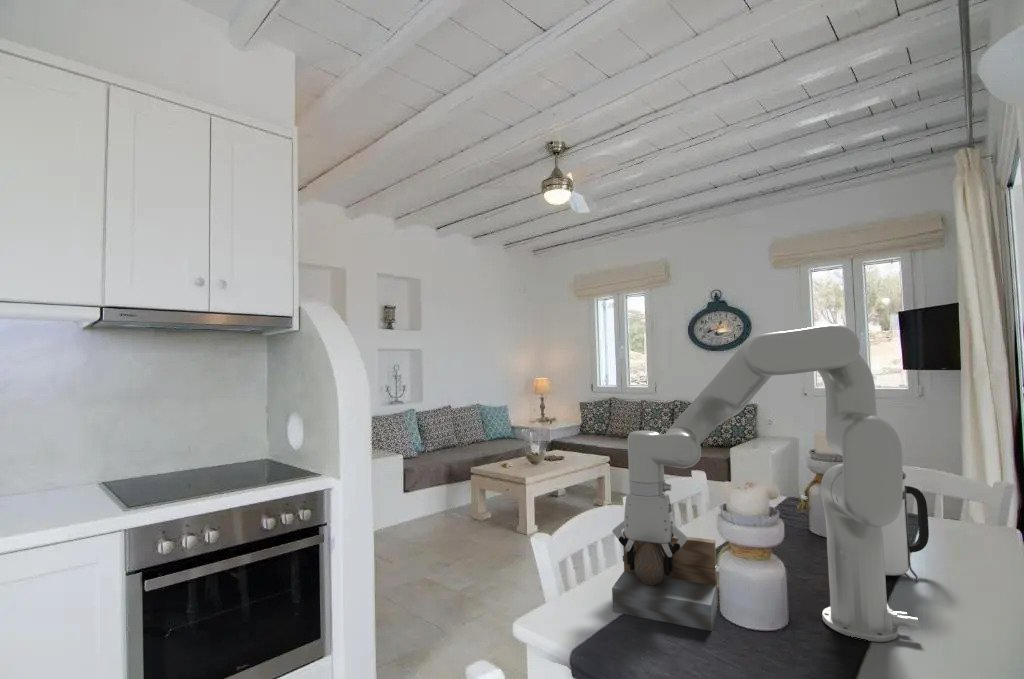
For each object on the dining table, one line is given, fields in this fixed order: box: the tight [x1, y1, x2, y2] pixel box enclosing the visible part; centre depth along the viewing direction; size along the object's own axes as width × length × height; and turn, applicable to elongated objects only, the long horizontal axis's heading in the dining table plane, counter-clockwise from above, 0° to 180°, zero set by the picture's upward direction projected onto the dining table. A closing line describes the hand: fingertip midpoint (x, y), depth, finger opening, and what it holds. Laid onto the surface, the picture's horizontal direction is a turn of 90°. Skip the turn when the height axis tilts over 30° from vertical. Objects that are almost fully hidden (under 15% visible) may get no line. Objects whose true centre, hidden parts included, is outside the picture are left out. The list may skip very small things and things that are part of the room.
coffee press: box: [882, 469, 930, 582], centre depth 129 cm, size 17×16×30 cm
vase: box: [634, 542, 665, 585], centre depth 113 cm, size 7×7×9 cm
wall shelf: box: [611, 530, 719, 632], centre depth 112 cm, size 20×12×14 cm, turn 63°
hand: (650, 570), depth 113 cm, fingers closed on vase, 6 cm apart
